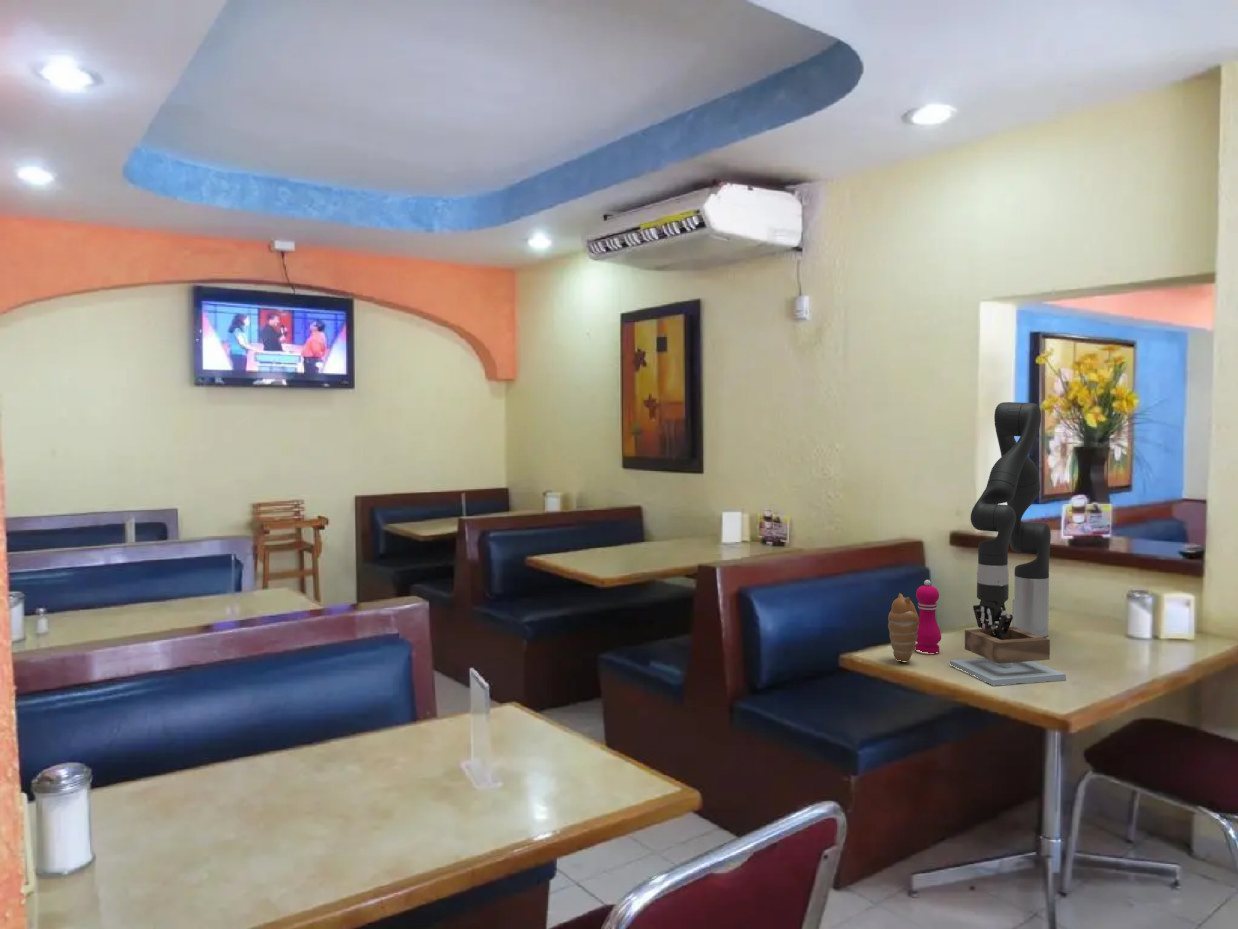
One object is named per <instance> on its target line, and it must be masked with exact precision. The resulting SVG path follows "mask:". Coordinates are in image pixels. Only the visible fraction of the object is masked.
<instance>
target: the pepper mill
mask: <svg viewBox="0 0 1238 929" xmlns="http://www.w3.org/2000/svg"><path fill="white" fill-rule="evenodd" d="M923 584H924V585H921V586H919V587H918V588H917V589H916V593H915V597H916V599H917V601H918V603H917V608H918V609H919V614H918V617H919V625H918V626H919V629H918V631H917V635H918V637H917V640H916V645H915V648H914V650H915V649H916V650H920V651H922V652H928V653H936V652H939V653H940V646H939V645H938V643H940V642H941V640H942V633H941V629H940V627H939V625H938V622H937V619H936V618H937V617H936V610H937V609H938V603H937V602H938V601H939V599H940V593H939V590H938V589H937V588H936V587H935V586H933V585H931V584H932V582H931V580H930V579H926V580H924V582H923Z"/></svg>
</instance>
